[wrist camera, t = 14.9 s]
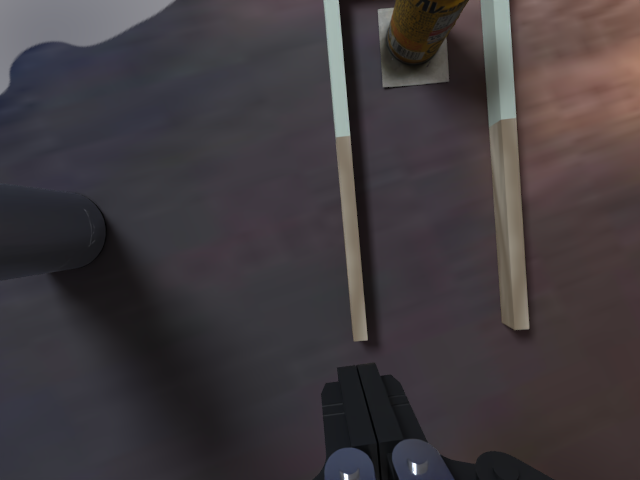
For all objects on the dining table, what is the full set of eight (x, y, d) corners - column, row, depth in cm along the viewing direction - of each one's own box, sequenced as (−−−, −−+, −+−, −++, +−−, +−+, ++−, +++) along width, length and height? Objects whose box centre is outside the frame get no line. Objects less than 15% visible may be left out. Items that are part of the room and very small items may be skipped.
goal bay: (335, 143, 35) (335, 137, 32) (321, -18, 34) (320, -37, 32) (502, 125, 34) (516, 117, 31) (492, -41, 33) (505, -62, 31)
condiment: (444, 3, 34) (504, -120, 22) (448, 82, 34) (509, 4, 22) (377, 10, 34) (400, -106, 22) (382, 88, 34) (407, 15, 22)
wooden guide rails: (352, 333, 36) (353, 341, 33) (335, 143, 35) (335, 137, 32) (515, 321, 35) (529, 328, 32) (502, 125, 34) (516, 117, 31)
